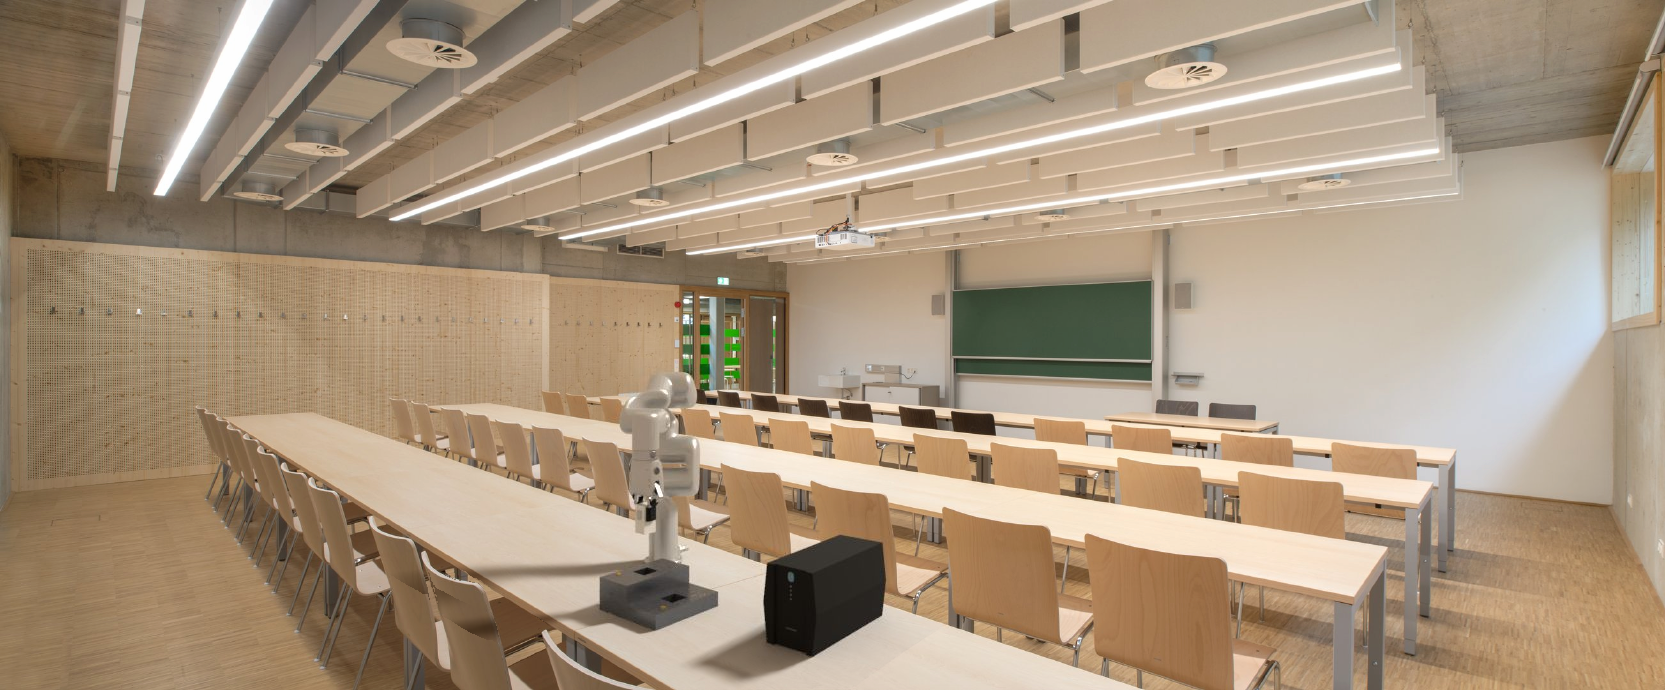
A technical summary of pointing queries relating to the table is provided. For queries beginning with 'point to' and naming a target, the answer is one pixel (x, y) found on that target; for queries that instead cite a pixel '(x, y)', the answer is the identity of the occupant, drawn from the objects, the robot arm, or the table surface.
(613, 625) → the table surface
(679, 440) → the robot arm
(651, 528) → the plug
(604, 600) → the panel
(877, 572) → the uninterruptible power supply
